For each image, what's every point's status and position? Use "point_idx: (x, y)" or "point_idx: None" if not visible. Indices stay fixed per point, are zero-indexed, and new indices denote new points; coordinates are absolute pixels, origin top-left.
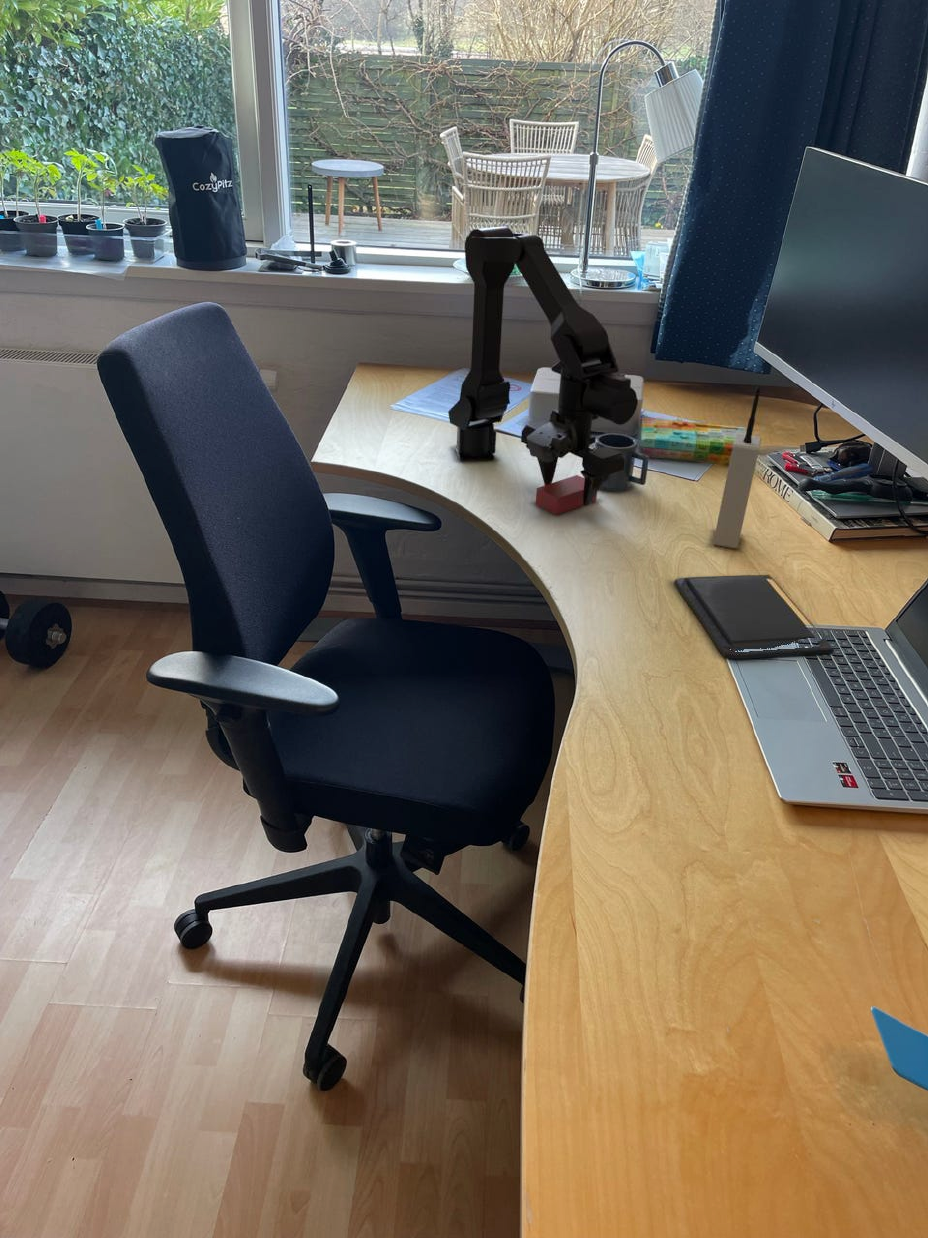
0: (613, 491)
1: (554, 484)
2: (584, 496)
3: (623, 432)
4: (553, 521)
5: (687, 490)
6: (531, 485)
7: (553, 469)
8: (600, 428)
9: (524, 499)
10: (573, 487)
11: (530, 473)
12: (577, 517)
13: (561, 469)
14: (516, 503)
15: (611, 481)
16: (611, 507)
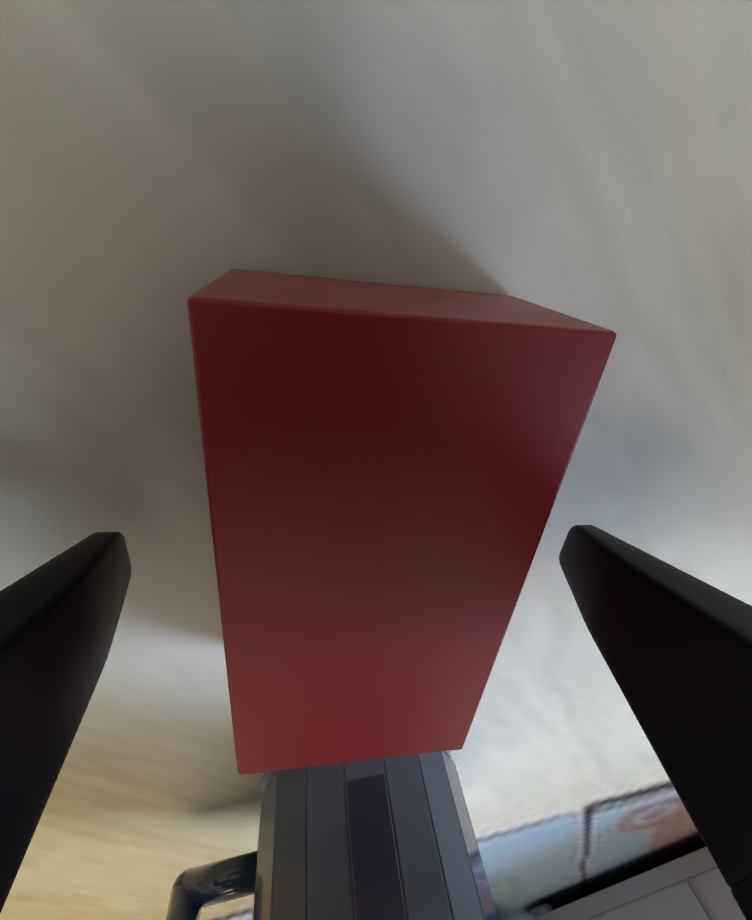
0: None
1: (497, 547)
2: (39, 594)
3: (560, 916)
4: (108, 99)
5: (120, 907)
6: (676, 504)
7: (641, 690)
8: (631, 897)
9: (633, 297)
10: (320, 632)
11: (733, 591)
12: (83, 395)
13: (613, 704)
14: (664, 157)
15: (295, 811)
16: (124, 664)
